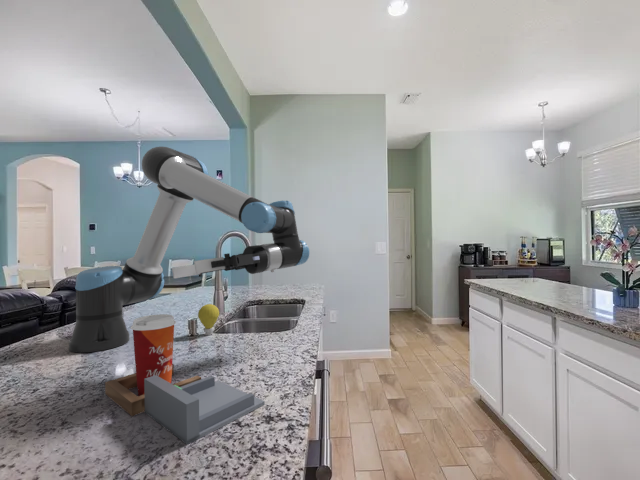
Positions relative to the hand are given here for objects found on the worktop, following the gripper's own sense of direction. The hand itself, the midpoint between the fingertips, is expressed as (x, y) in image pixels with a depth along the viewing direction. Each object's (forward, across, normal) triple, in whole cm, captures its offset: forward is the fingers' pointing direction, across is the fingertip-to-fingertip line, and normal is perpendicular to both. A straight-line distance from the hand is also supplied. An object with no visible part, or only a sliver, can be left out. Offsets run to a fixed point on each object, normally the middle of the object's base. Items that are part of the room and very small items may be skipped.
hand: (183, 270), depth 73 cm
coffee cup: (+9, 0, -24) cm, 26 cm away
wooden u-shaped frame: (+9, 0, -24) cm, 25 cm away
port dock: (+5, -14, -26) cm, 30 cm away
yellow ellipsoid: (-17, +32, -21) cm, 42 cm away
